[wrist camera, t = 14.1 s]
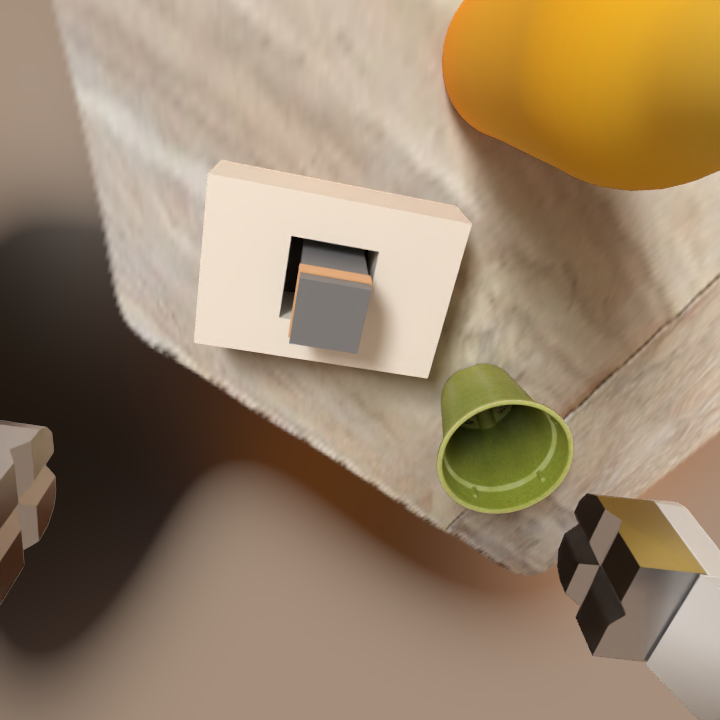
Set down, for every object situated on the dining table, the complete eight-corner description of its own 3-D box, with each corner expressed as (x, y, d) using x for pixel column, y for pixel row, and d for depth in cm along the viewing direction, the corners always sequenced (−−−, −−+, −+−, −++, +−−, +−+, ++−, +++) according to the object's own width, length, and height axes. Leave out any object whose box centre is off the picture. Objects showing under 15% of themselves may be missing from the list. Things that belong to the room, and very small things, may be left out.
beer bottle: (492, -66, 34) (1018, -442, 8) (617, 23, 36) (1326, -53, 11) (410, 90, 37) (599, 169, 12) (528, 162, 40) (901, 358, 14)
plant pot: (401, 425, 49) (415, 494, 41) (449, 327, 45) (475, 383, 37) (500, 456, 51) (531, 527, 43) (555, 364, 47) (600, 425, 39)
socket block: (456, 205, 41) (471, 224, 37) (417, 347, 46) (427, 378, 41) (221, 159, 39) (208, 173, 34) (207, 313, 44) (193, 342, 39)
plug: (363, 239, 42) (373, 288, 33) (351, 294, 44) (358, 355, 35) (303, 228, 41) (298, 275, 32) (294, 284, 43) (287, 344, 34)
